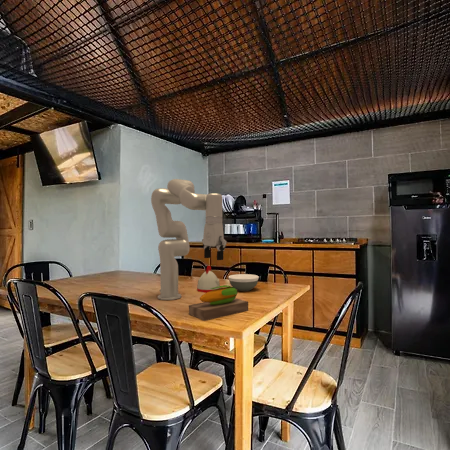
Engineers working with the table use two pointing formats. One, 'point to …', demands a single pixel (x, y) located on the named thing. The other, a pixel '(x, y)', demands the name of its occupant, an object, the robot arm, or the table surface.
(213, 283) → the kitchen timer
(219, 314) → the board
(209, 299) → the corn
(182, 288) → the table surface
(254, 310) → the table surface
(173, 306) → the table surface
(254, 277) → the bowl
